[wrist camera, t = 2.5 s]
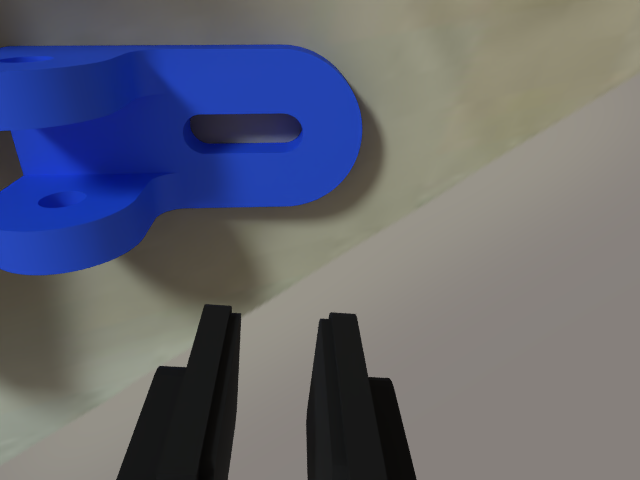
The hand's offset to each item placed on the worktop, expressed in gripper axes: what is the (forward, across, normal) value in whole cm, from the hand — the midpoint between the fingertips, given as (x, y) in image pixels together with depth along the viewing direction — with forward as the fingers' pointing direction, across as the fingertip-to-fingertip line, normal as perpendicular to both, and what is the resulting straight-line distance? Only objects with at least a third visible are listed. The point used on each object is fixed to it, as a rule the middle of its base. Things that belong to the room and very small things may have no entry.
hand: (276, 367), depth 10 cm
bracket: (+20, +5, 0) cm, 20 cm away
